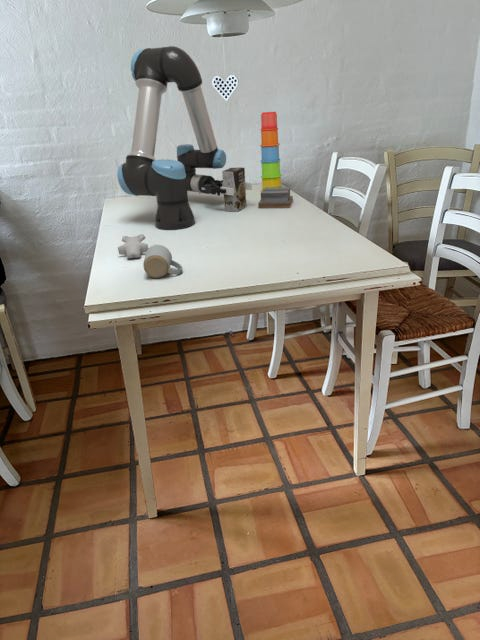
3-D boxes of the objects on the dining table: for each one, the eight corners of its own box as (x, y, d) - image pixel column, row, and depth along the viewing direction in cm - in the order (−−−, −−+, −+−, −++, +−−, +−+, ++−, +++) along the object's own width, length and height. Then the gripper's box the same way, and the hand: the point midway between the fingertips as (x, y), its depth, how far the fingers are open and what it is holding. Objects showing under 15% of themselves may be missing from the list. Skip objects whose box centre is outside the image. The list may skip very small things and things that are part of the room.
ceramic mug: (144, 280, 134) (140, 254, 130) (147, 269, 141) (144, 244, 137) (182, 278, 134) (179, 252, 131) (183, 267, 141) (181, 242, 138)
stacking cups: (257, 193, 222) (254, 113, 206) (265, 189, 230) (263, 111, 215) (278, 194, 218) (277, 112, 203) (285, 189, 227) (284, 110, 211)
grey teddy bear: (116, 250, 147) (117, 231, 159) (119, 265, 150) (120, 245, 162) (147, 246, 148) (146, 228, 160) (149, 261, 151) (148, 242, 163)
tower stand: (289, 208, 196) (289, 193, 193) (258, 208, 198) (257, 193, 195) (292, 200, 207) (292, 186, 204) (263, 200, 209) (262, 186, 207)
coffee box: (238, 212, 195) (236, 171, 187) (224, 211, 197) (221, 171, 190) (247, 206, 202) (245, 167, 195) (233, 205, 205) (230, 166, 197)
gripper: (222, 187, 216) (260, 192, 202) (185, 198, 201) (223, 204, 187) (221, 170, 212) (259, 174, 199) (183, 180, 197) (222, 185, 184)
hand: (242, 189), depth 193 cm, fingers open, 10 cm apart
